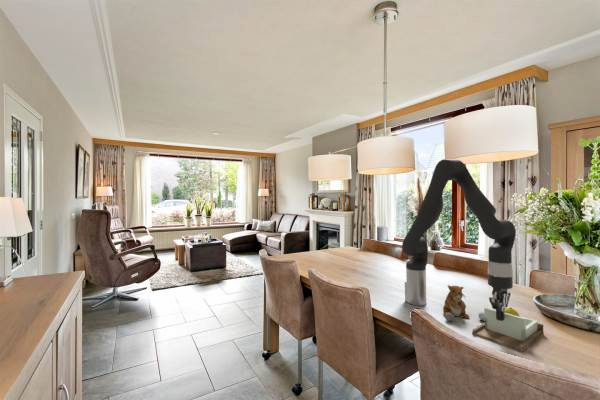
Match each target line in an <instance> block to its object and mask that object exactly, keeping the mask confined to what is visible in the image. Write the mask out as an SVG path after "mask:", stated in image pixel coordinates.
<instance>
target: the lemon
mask: <svg viewBox="0 0 600 400" xmlns="http://www.w3.org/2000/svg"><path fill="white" fill-rule="evenodd" d="M504 313H508V314H511V315H515V316H519V317H520V314H519V312H518V311H517V310H516V309H514V308H513V307H506V309H505V310H504Z"/></svg>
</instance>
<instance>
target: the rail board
mask: <svg viewBox="0 0 600 400" xmlns="http://www.w3.org/2000/svg"><path fill="white" fill-rule="evenodd" d="M471 333H472V334H471V335H474V336H476V337H480V338H483V339H485V340H487V341H491V342H494V343H496V344H499V345H502V346H504V347H508V348H510V349H512V350H516V351H518V352H521V353H523V352H525V351H526V350H527V349H528V348H530V347H531V346H532V345H533V344H534V343H535V342H537V341H538V340H539V339H540V338H541V337H542V336H544V335H545V334H544V324H543V323H539V322H538V331H537V332H536V333H534V334H533V335H532V336H531V337H529V338H528V339H527V340H525V341H521V340H518V339H515V338H512V337H509V336H506V335H503V334H500V333H497V332H495V331H492V330H489V329H486V328H485V322H483V323H481V324H480V325H477V326H475V327H474V328H473V329H472V331H471Z"/></svg>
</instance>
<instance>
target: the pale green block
mask: <svg viewBox="0 0 600 400" xmlns="http://www.w3.org/2000/svg"><path fill="white" fill-rule="evenodd" d="M483 310H484V311H483V312H484V317H485V321H484V323H485V328H486V329H489V330H492V331H495V332H497V333H500V334H503V335H506V336H509V337H512V338H515V339H518V340H521V341H525V340H527V339H528V338H529V337H531V336H532V335H533V334H534V333H536V332H537V331H538V323H539V322H538V320H536V319H535V320H534V319H532V318H527V317H523V316H520V315H519V316H520V317H519V316H515V315H511V314H508V313H504V320H503V321H500V320H497V319H496V309H493V308H489V307H486V306H485V307H484V309H483Z"/></svg>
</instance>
